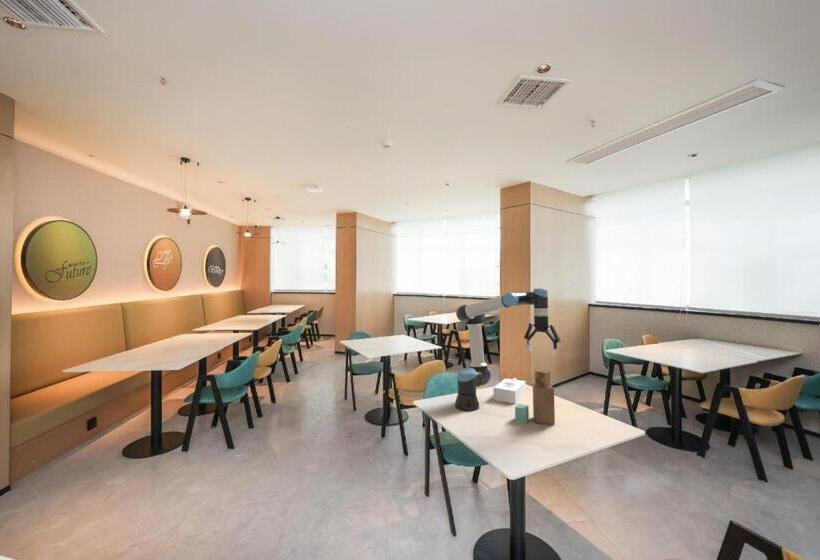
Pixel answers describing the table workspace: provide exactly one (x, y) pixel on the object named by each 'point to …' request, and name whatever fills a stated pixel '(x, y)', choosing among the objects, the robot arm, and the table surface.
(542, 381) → the walnut block
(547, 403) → the block
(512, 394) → the tissue box
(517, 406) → the teal block
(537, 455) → the table surface
